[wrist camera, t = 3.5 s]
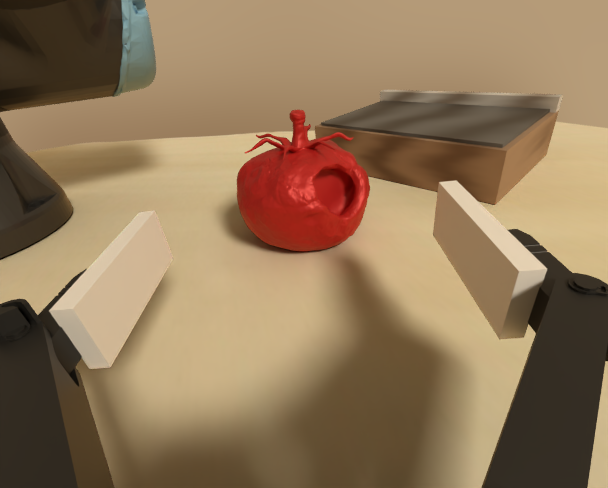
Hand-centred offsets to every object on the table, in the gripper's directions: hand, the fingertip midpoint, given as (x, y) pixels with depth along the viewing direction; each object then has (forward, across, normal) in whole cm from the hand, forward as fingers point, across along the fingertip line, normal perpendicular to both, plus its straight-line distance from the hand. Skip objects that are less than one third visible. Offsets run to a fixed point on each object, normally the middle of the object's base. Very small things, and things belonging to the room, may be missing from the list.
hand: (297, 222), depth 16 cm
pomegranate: (+10, 0, -6) cm, 12 cm away
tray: (+23, +13, -6) cm, 27 cm away
